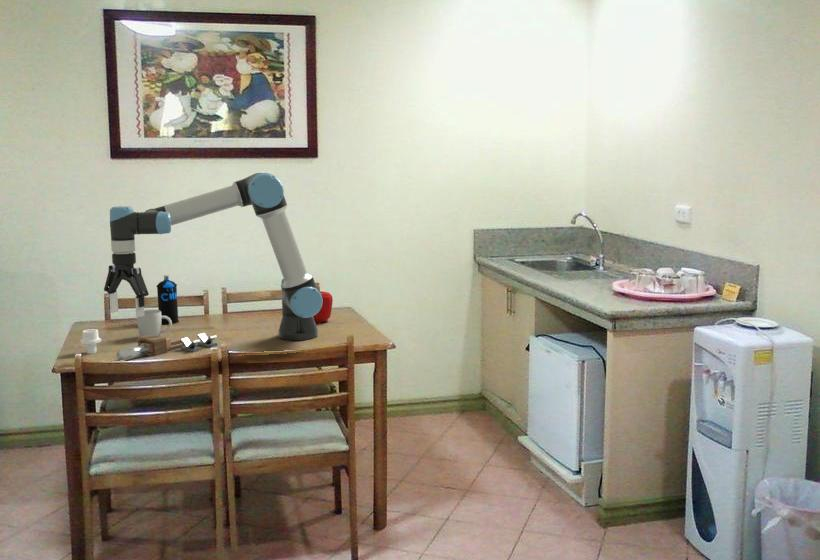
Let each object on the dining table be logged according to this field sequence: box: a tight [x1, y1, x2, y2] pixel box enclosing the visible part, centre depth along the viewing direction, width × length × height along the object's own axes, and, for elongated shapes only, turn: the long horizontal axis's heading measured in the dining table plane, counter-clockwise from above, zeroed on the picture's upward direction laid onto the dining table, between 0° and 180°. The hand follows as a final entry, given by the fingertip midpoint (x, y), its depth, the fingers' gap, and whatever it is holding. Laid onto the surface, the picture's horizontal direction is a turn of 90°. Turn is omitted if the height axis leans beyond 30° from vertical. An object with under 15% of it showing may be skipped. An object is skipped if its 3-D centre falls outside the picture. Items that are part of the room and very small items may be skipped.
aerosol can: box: [156, 274, 180, 325], centre depth 325 cm, size 8×8×20 cm
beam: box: [137, 335, 184, 357], centre depth 281 cm, size 9×21×5 cm, turn 148°
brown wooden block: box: [141, 337, 172, 353], centre depth 278 cm, size 3×10×4 cm, turn 148°
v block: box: [179, 332, 218, 353], centre depth 283 cm, size 7×11×4 cm, turn 148°
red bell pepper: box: [313, 289, 334, 324], centre depth 327 cm, size 10×10×14 cm
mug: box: [136, 309, 173, 337], centre depth 299 cm, size 13×9×10 cm
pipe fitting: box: [79, 328, 102, 355], centre depth 276 cm, size 6×7×8 cm
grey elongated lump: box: [116, 344, 149, 361], centre depth 269 cm, size 10×4×4 cm, turn 147°
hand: (127, 314), depth 266 cm, fingers open, 13 cm apart
